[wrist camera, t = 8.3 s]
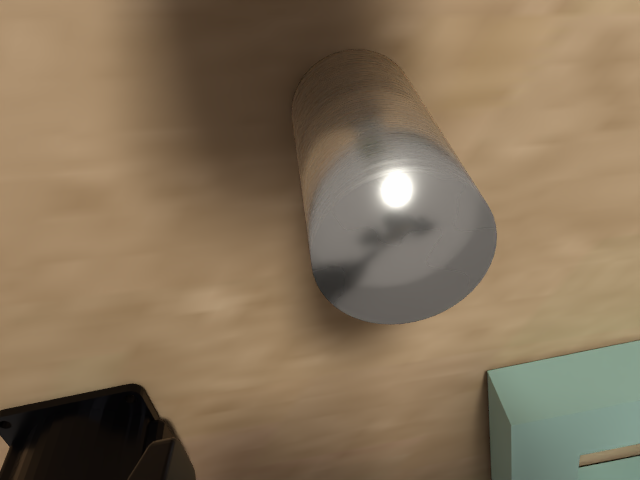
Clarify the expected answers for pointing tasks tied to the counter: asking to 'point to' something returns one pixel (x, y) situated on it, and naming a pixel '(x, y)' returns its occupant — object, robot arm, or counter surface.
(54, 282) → the counter surface
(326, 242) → the dowel
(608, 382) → the socket block
